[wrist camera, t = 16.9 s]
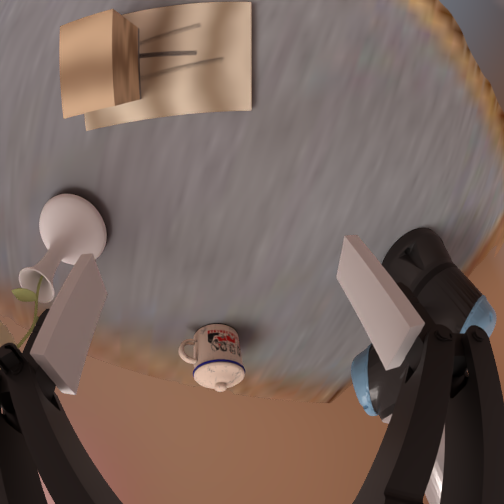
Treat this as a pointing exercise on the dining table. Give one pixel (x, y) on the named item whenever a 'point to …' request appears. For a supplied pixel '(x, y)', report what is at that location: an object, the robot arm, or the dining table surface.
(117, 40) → the block
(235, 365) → the teacup with lid
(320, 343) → the dining table surface
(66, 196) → the flower in vase
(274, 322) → the dining table surface
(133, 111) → the board
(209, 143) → the dining table surface
